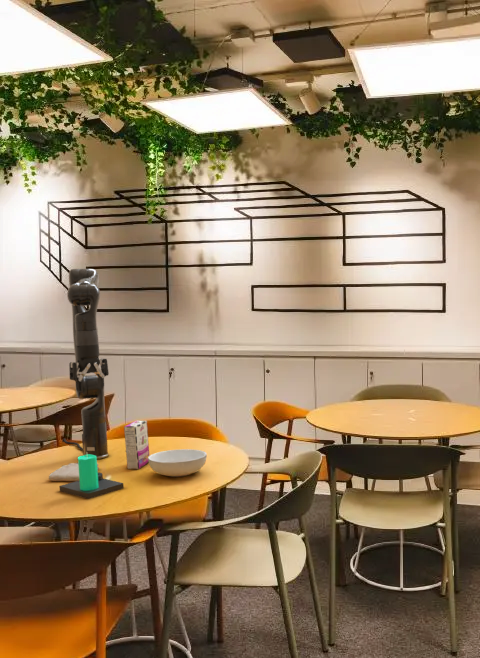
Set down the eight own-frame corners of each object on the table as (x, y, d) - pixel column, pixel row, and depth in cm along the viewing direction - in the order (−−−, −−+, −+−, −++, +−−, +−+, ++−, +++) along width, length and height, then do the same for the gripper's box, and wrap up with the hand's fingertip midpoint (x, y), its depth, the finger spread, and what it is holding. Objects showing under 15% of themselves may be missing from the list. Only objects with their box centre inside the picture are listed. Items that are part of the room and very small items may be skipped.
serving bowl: (216, 467, 249) (215, 449, 249) (191, 483, 230) (190, 463, 229) (166, 465, 256) (165, 447, 255) (137, 479, 237) (136, 460, 236)
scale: (58, 491, 226) (58, 481, 225) (94, 481, 237) (94, 471, 237) (88, 499, 216) (87, 488, 215) (124, 488, 227) (124, 478, 226)
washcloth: (100, 469, 253) (99, 461, 253) (80, 482, 236) (80, 474, 235) (70, 469, 255) (69, 461, 254) (48, 482, 237) (47, 473, 237)
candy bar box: (138, 461, 263) (135, 420, 261) (150, 462, 262) (147, 420, 260) (126, 469, 252) (123, 426, 250) (138, 469, 251) (136, 426, 249)
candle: (81, 485, 224) (79, 450, 223) (100, 484, 225) (97, 449, 223) (78, 491, 219) (75, 454, 217) (97, 490, 219) (94, 453, 217)
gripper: (97, 341, 239) (100, 387, 241) (62, 345, 228) (66, 392, 230) (111, 342, 234) (114, 388, 236) (76, 345, 223) (79, 394, 225)
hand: (90, 390), depth 233 cm, fingers open, 8 cm apart
